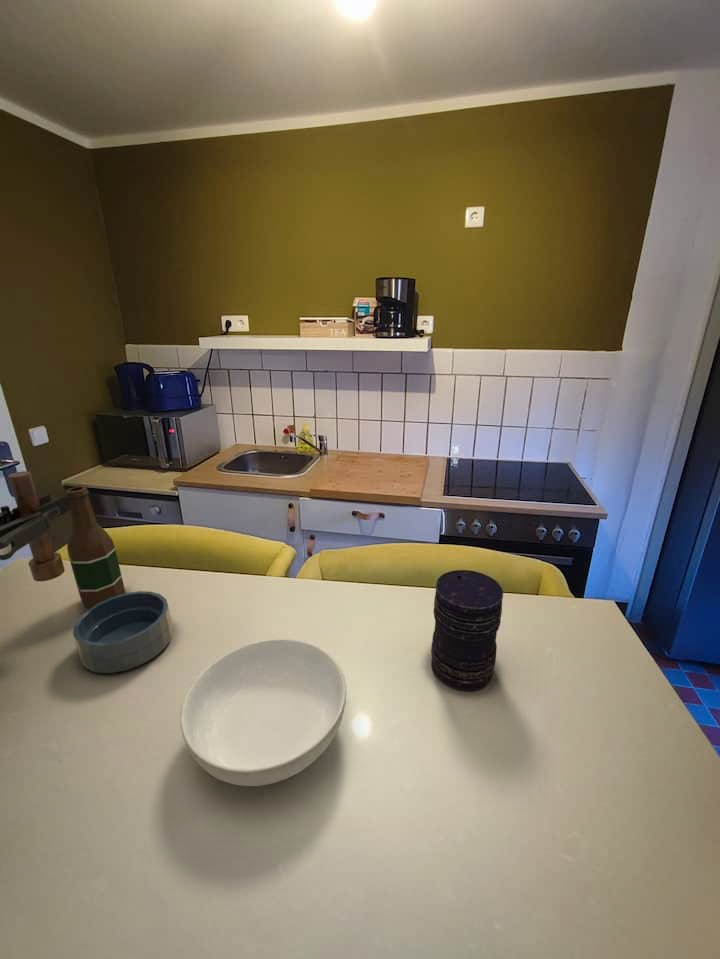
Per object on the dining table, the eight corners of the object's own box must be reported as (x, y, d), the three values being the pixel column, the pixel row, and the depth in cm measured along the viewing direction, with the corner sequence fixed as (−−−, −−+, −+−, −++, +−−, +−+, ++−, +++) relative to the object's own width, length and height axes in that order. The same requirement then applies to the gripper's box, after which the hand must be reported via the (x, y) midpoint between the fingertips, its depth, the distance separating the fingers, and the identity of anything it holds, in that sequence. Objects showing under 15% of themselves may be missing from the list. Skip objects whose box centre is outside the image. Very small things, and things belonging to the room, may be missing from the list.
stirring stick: (27, 578, 71) (-6, 476, 65) (53, 565, 75) (25, 468, 69) (44, 583, 70) (12, 480, 64) (70, 570, 74) (42, 471, 67)
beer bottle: (124, 606, 84) (96, 492, 75) (78, 616, 81) (44, 499, 73) (128, 585, 91) (103, 479, 82) (86, 593, 88) (56, 484, 80)
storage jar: (506, 684, 65) (518, 601, 60) (448, 699, 62) (455, 614, 57) (472, 640, 74) (480, 565, 69) (420, 652, 71) (424, 575, 66)
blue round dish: (62, 661, 70) (52, 631, 68) (133, 611, 82) (127, 584, 80) (123, 686, 65) (115, 655, 63) (190, 629, 77) (185, 601, 75)
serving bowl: (368, 692, 64) (367, 655, 61) (304, 843, 45) (300, 799, 43) (248, 658, 70) (244, 623, 68) (150, 778, 52) (139, 736, 50)
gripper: (-136, 598, 54) (23, 519, 76) (-27, 607, 52) (105, 523, 74) (-162, 546, 52) (11, 479, 74) (-47, 553, 50) (95, 482, 72)
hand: (58, 501), depth 74 cm, fingers closed on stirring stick, 3 cm apart
